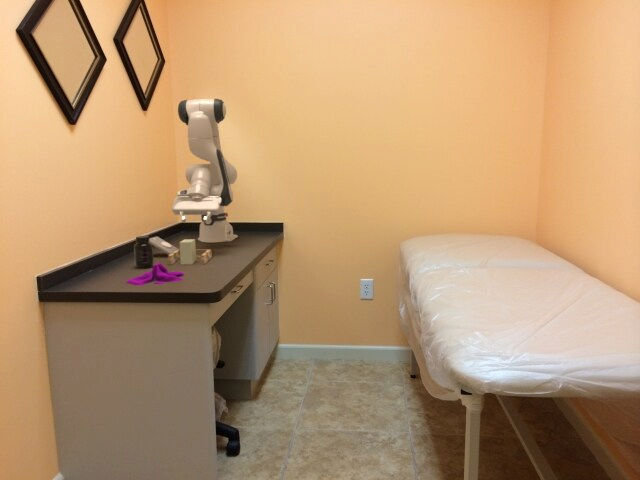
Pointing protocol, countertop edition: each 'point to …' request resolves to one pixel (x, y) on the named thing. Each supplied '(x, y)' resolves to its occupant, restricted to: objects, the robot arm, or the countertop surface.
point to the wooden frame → (200, 253)
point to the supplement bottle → (143, 252)
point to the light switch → (162, 245)
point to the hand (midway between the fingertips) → (194, 221)
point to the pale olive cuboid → (187, 251)
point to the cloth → (156, 276)
